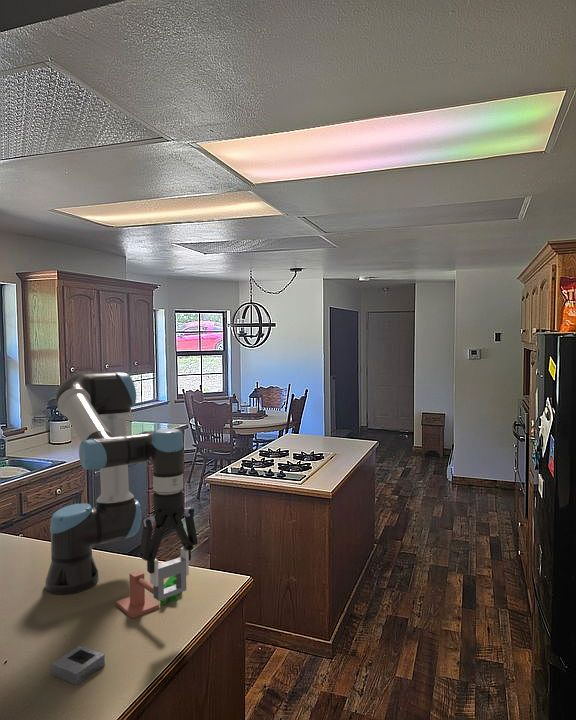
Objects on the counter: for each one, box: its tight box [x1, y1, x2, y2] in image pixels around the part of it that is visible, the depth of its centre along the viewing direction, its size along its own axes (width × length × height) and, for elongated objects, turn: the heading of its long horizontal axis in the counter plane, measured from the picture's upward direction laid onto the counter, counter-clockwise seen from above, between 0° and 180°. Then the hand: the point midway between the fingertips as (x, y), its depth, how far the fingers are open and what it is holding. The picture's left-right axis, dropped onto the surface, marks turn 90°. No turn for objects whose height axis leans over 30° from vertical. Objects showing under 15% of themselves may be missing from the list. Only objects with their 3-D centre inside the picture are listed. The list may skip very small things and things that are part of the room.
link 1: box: [50, 644, 106, 686], centre depth 118 cm, size 8×8×2 cm
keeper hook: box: [115, 569, 166, 619], centre depth 142 cm, size 20×8×10 cm, turn 43°
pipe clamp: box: [159, 575, 183, 606], centre depth 152 cm, size 11×4×5 cm, turn 174°
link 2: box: [152, 556, 187, 602], centre depth 132 cm, size 2×8×8 cm, turn 133°
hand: (169, 579), depth 132 cm, fingers closed on link 2, 8 cm apart
